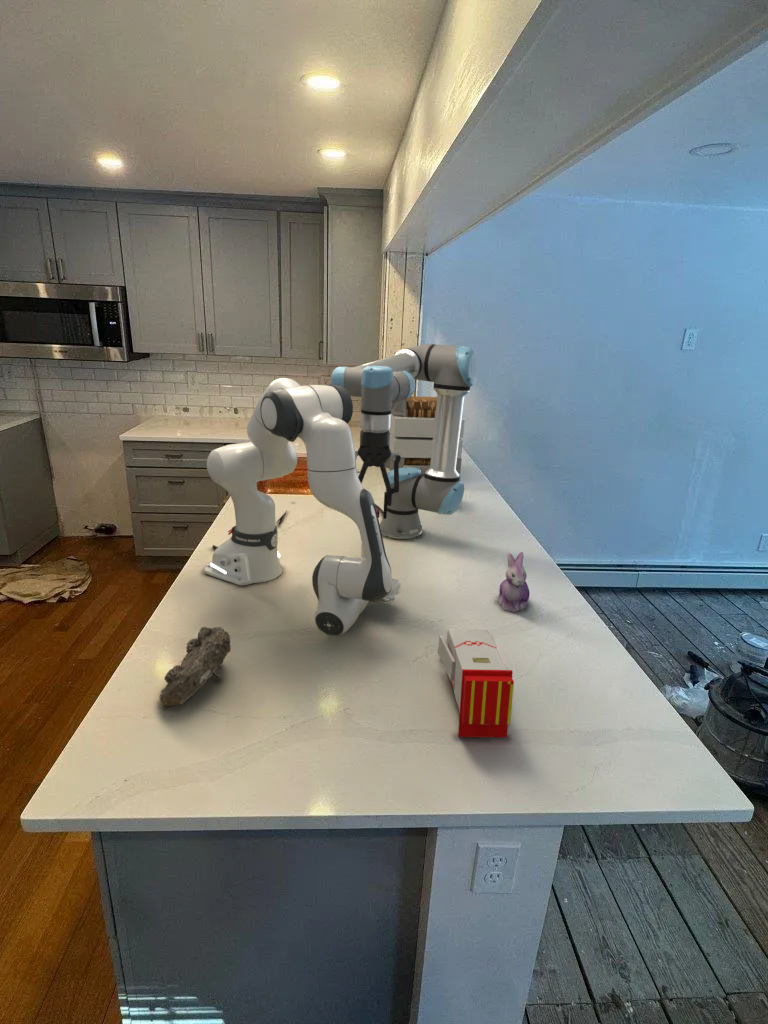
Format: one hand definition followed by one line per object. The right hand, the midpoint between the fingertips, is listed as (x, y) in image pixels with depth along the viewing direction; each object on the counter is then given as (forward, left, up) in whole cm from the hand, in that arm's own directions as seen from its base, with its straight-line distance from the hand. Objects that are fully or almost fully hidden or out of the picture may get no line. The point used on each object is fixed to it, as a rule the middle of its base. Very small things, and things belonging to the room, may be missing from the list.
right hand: (372, 516), depth 150 cm
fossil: (+8, -52, -23) cm, 57 cm away
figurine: (+28, +28, -23) cm, 46 cm away
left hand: (-1, +1, -17) cm, 17 cm away
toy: (+46, -10, -23) cm, 52 cm away
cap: (0, 0, +2) cm, 2 cm away
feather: (-67, +14, -23) cm, 72 cm away
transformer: (-81, +97, -23) cm, 129 cm away
